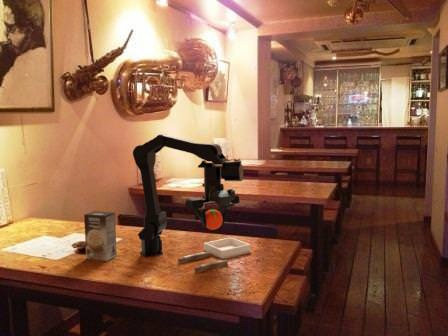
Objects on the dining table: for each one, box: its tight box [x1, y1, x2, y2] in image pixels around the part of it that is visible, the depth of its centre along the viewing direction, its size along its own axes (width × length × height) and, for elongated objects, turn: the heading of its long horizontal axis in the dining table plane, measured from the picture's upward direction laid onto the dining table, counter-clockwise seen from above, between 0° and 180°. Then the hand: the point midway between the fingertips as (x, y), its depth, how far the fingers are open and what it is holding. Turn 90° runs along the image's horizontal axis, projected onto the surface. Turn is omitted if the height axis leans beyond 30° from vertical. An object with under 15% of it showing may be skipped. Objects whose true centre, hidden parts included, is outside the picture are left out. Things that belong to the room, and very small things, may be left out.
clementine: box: [205, 208, 223, 231], centre depth 138 cm, size 8×7×7 cm
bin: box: [203, 237, 251, 260], centre depth 147 cm, size 12×12×3 cm
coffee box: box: [83, 210, 118, 262], centre depth 142 cm, size 9×6×16 cm
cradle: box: [177, 251, 228, 274], centre depth 134 cm, size 12×12×2 cm
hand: (213, 225), depth 139 cm, fingers closed on clementine, 7 cm apart
